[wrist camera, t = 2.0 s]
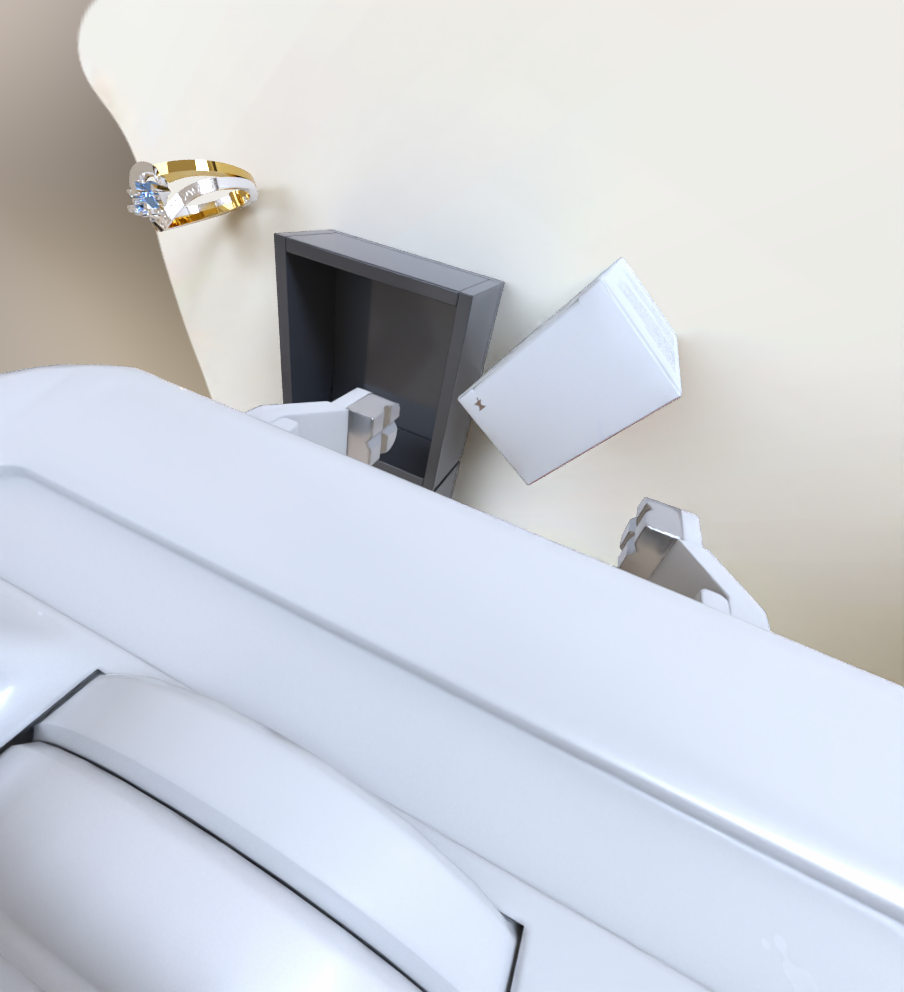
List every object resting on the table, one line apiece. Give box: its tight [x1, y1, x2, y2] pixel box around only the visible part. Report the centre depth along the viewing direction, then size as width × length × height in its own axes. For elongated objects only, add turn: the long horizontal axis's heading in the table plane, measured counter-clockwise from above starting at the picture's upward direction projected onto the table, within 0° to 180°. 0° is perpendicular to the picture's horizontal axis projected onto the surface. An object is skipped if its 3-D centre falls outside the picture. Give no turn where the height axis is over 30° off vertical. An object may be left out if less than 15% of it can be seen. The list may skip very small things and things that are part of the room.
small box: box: [458, 257, 682, 485], centre depth 22 cm, size 8×6×10 cm
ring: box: [127, 160, 259, 232], centre depth 27 cm, size 7×3×8 cm, turn 103°
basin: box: [274, 230, 504, 491], centre depth 30 cm, size 13×13×6 cm
